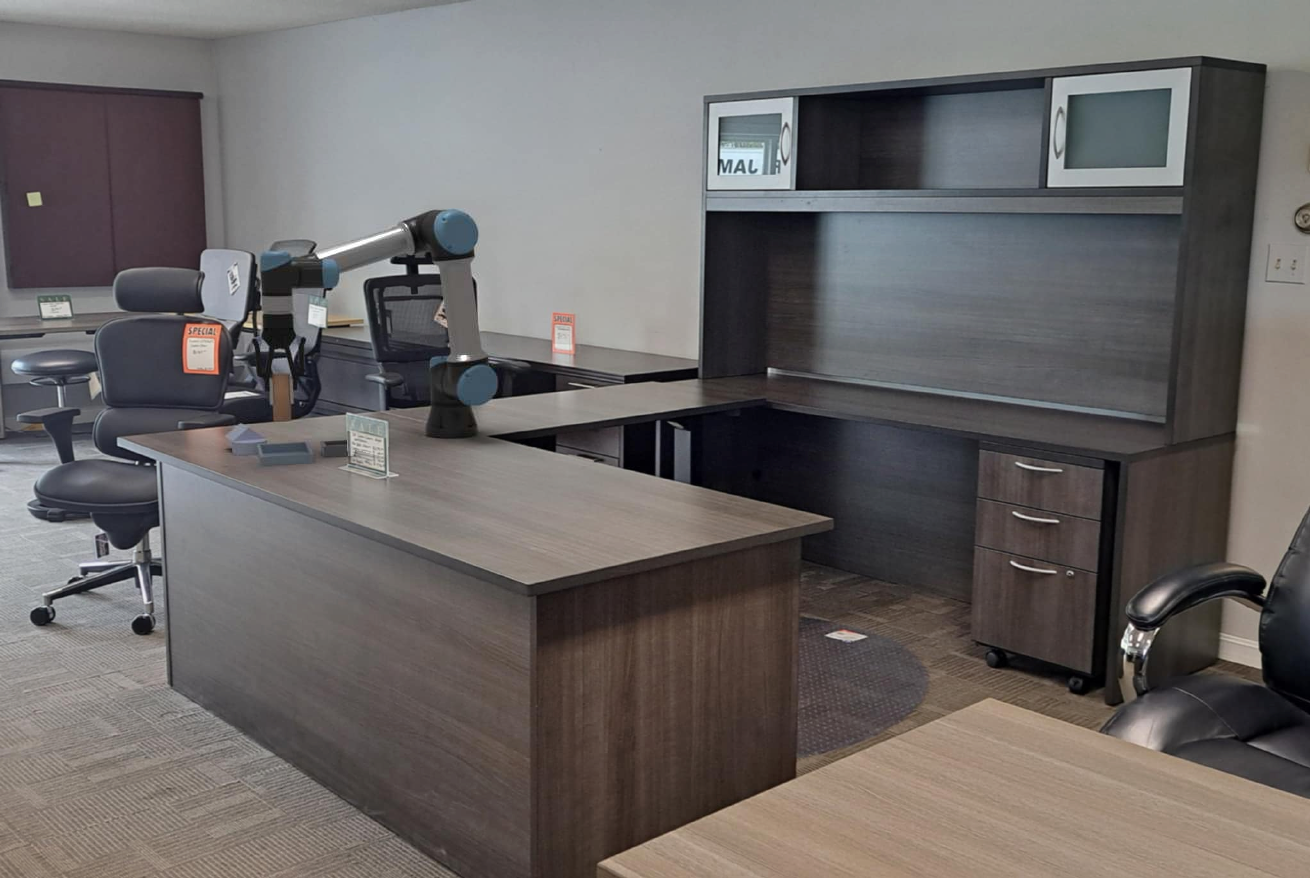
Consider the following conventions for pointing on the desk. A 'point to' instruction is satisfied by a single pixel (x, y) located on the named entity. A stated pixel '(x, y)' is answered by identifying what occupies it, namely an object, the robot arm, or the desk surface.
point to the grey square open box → (334, 448)
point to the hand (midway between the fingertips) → (281, 403)
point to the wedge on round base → (245, 440)
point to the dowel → (281, 397)
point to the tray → (284, 454)
